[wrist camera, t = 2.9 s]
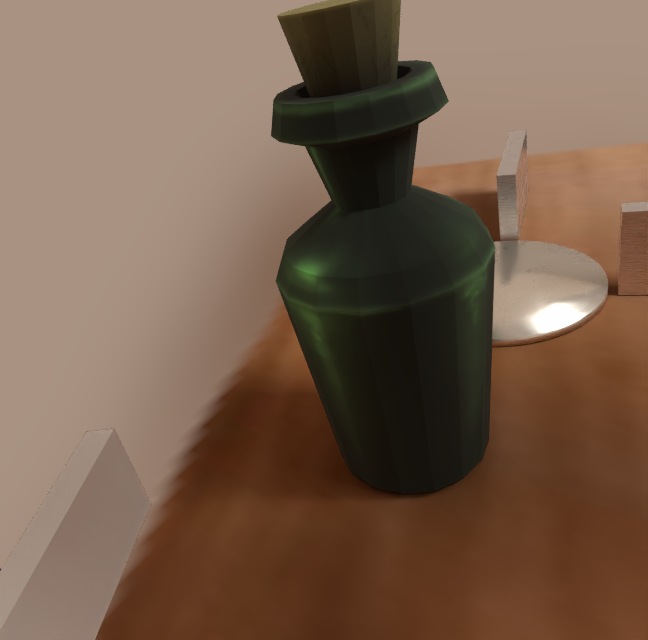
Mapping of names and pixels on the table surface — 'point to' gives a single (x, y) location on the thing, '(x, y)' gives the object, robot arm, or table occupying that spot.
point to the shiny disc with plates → (553, 265)
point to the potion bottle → (384, 257)
